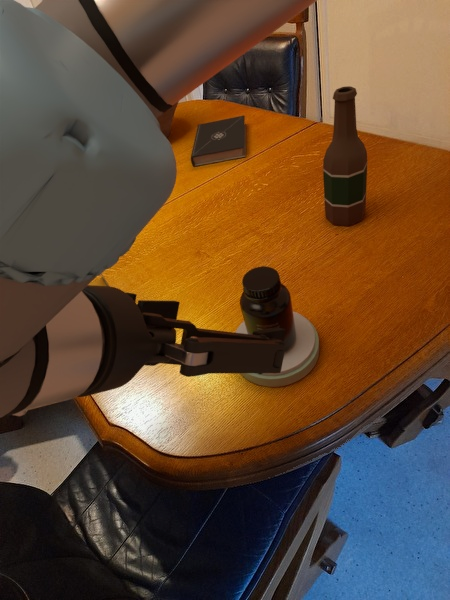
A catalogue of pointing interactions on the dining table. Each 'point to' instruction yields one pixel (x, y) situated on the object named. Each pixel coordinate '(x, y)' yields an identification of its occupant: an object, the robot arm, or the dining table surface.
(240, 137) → the book
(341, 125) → the beer bottle
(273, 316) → the supplement bottle
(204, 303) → the dining table surface
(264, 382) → the scale
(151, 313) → the robot arm
